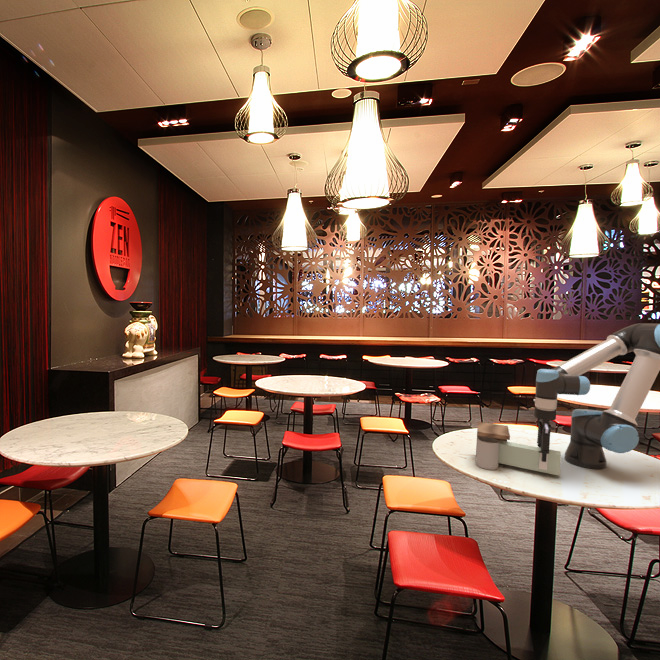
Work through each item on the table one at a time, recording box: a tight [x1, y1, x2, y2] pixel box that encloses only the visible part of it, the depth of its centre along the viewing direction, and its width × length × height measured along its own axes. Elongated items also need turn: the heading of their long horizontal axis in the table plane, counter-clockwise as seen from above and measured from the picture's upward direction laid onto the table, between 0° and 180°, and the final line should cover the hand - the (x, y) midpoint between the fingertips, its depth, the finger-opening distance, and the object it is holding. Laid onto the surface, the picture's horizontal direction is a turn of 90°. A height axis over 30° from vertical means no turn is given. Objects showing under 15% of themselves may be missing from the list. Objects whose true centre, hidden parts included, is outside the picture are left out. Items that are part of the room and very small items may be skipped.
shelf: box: [475, 421, 511, 456], centre depth 159 cm, size 12×16×15 cm
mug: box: [475, 437, 499, 471], centre depth 159 cm, size 12×8×11 cm
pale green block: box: [498, 440, 562, 476], centre depth 154 cm, size 22×5×8 cm, turn 60°
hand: (541, 466), depth 151 cm, fingers closed on pale green block, 5 cm apart
